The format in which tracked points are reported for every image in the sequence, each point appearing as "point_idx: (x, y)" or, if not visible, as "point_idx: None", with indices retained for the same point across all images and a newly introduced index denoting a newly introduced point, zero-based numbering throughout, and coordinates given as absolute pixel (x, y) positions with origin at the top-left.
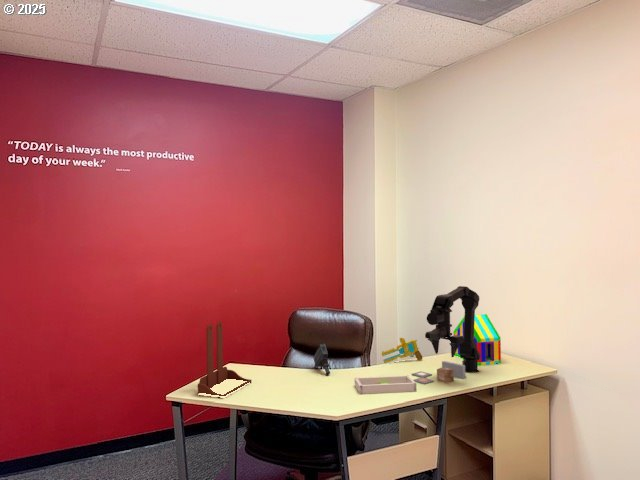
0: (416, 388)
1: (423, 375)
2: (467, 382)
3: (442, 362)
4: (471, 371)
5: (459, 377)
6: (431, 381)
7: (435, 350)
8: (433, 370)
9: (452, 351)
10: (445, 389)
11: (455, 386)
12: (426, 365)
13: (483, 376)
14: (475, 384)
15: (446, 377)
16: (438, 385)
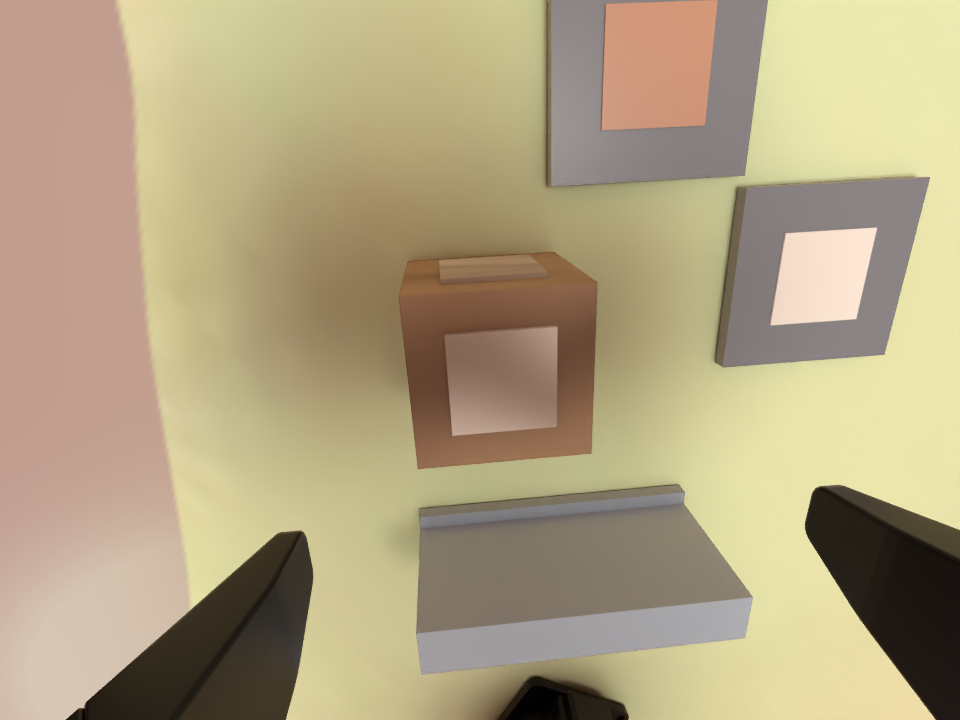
0: None
1: (773, 245)
2: (297, 464)
3: (736, 586)
4: (510, 708)
5: (451, 510)
6: (549, 120)
7: (909, 529)
8: (802, 503)
9: (139, 673)
10: (209, 11)
11: (249, 242)
12: None
13: (359, 693)
14: (197, 475)
15: (405, 274)
16: (402, 91)
